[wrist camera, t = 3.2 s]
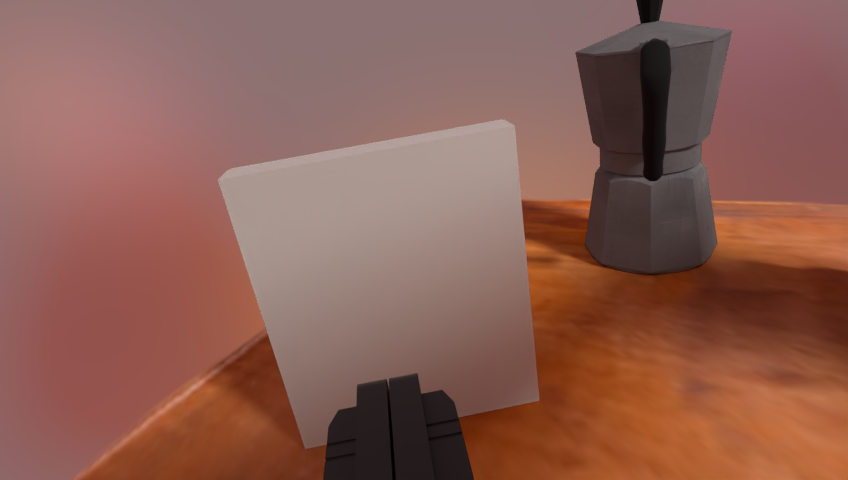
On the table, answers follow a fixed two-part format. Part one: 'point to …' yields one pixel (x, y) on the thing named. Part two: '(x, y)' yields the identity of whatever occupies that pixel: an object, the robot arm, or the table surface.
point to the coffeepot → (652, 142)
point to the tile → (391, 270)
